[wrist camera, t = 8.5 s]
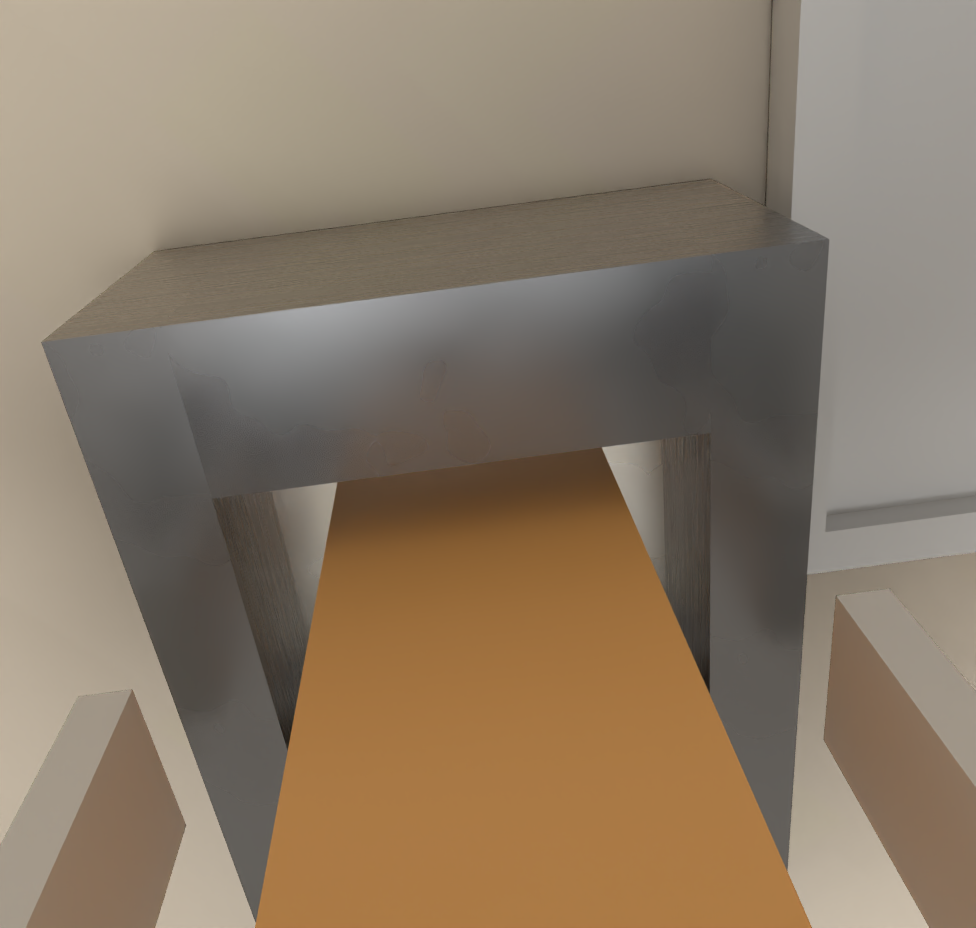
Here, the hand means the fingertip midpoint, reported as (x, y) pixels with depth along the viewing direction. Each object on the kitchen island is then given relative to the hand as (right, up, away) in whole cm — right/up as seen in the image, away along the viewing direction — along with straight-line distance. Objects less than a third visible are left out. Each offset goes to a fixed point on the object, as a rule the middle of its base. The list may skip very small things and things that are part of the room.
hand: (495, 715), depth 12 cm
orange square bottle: (0, +2, +4) cm, 4 cm away
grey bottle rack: (0, -2, +8) cm, 8 cm away
